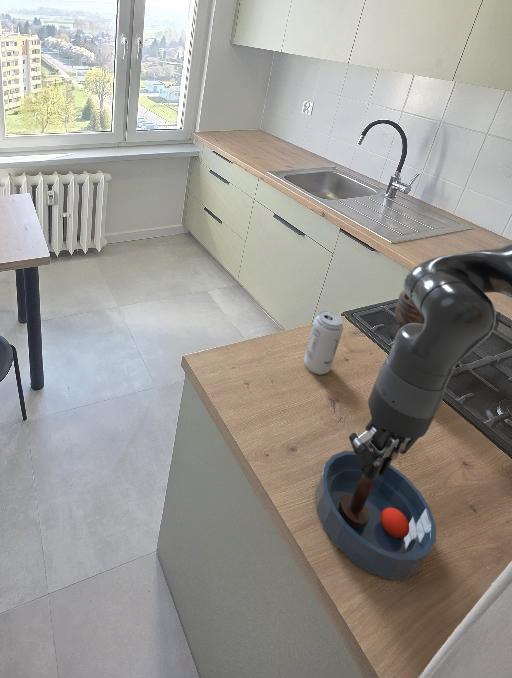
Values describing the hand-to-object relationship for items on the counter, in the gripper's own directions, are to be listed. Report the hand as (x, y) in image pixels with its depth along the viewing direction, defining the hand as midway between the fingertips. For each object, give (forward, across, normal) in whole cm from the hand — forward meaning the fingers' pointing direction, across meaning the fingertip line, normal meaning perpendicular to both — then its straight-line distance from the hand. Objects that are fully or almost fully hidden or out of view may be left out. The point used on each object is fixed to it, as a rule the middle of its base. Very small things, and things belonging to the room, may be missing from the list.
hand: (371, 471), depth 66 cm
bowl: (+13, +2, -1) cm, 13 cm away
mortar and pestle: (+13, +47, +29) cm, 57 cm away
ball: (+10, +5, -4) cm, 12 cm away
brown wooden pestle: (+11, 0, 0) cm, 11 cm away
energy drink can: (+13, +18, +29) cm, 37 cm away
